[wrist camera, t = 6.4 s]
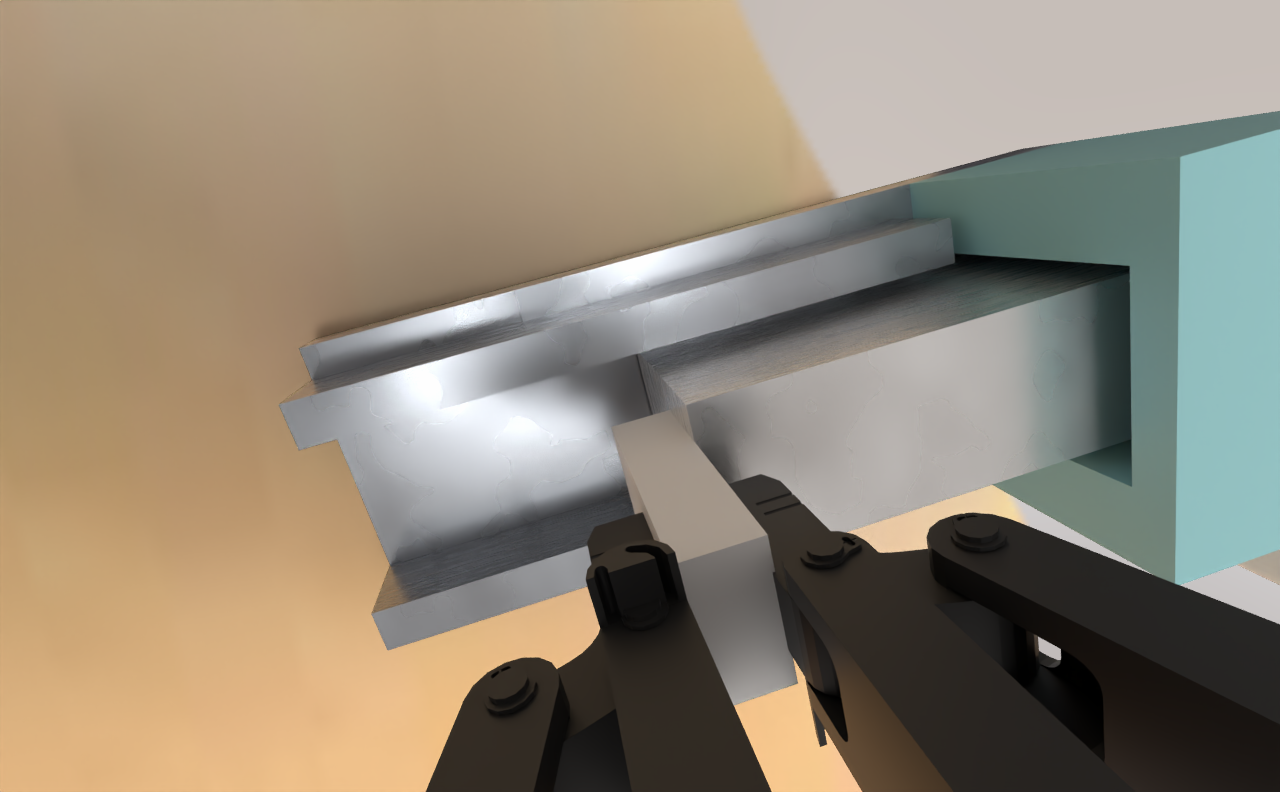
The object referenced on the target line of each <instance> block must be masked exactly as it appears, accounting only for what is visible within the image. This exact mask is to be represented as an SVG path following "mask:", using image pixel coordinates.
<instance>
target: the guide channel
mask: <svg viewBox="0 0 1280 792" xmlns="http://www.w3.org/2000/svg"><path fill="white" fill-rule="evenodd" d="M1052 145H1055V144H1052ZM1048 146H1051V145H1046V146H1039V147H1032V148H1025V149H1020V150H1016V151H1012V152H1009V153H1006V154H1002V155H998V156H994V157H990V158H986V159H983V160H979V161H975V162H972V163H968V164H964V165H960V166H957V167H953V168H949V169H946V170H942V171H939V172H934V173H931V174H927V175H923V176H919V177H916V178H913V179H909V180H905V181H901V182H897V183H894V184H890V185H886V186H882V187H879V188H875V189H871V190H867V191H864V192H860V193H856V194H853V195H849V196H845V197H841V198H838V199H834V200H830V201H827V202H823V203H819V204H815V205H812V206H808V207H804V208H801V209H797V210H793V211H789V212H786V213H782V214H778V215H774V216H771V217H767V218H763V219H760V220H756V221H752V222H748V223H745V224H741V225H737V226H734V227H730V228H726V229H722V230H719V231H715V232H711V233H708V234H704V235H700V236H696V237H693V238H689V239H685V240H682V241H678V242H674V243H670V244H667V245H663V246H659V247H655V248H652V249H648V250H644V251H641V252H637V253H633V254H629V255H626V256H622V257H618V258H615V259H611V260H607V261H603V262H600V263H596V264H592V265H589V266H585V267H581V268H577V269H574V270H570V271H566V272H563V273H559V274H555V275H551V276H548V277H544V278H540V279H536V280H533V281H529V282H525V283H522V284H518V285H514V286H510V287H507V288H503V289H499V290H496V291H492V292H488V293H484V294H481V295H477V296H473V297H470V298H466V299H462V300H458V301H455V302H451V303H447V304H444V305H440V306H436V307H432V308H429V309H425V310H421V311H418V312H414V313H410V314H406V315H403V316H399V317H395V318H391V319H388V320H384V321H380V322H377V323H373V324H369V325H365V326H362V327H358V328H354V329H351V330H347V331H343V332H339V333H336V334H332V335H328V336H325V337H321V338H317V339H315V340H313V341H311V342H309V343H308V344H306V345H304V346H302V347H301V348H299V350H300V352H301V355H302V357H303V360H304V362H305V364H306V367H307V369H308V371H309V374H310V376H311V379H312V380H311V381H310V382H308V383H307V384H306V385H304V386H303V387H301V388H300V389H299V390H297V391H296V392H295V393H293V394H292V395H291V396H289V397H288V398H287V399H285V400H284V401H283V402H281V403H280V404H279V407H280V409H281V411H282V413H283V416H284V418H285V420H286V422H287V425H288V427H289V429H290V431H291V434H292V436H293V438H294V440H295V443H296V445H297V447H298V449H299V450H302V449H305V448H309V447H312V446H316V445H319V444H323V443H326V442H330V441H333V440H338V443H339V445H340V447H341V450H342V452H343V455H344V457H345V459H346V462H347V464H348V466H349V469H350V471H351V473H352V476H353V478H354V481H355V483H356V485H357V488H358V490H359V492H360V495H361V497H362V500H363V502H364V504H365V507H366V509H367V511H368V514H369V516H370V519H371V521H372V523H373V526H374V528H375V530H376V533H377V535H378V538H379V540H380V542H381V545H382V547H383V549H384V552H385V554H386V557H387V559H388V561H389V564H390V567H389V570H388V572H387V575H386V577H385V580H384V583H383V585H382V588H381V590H380V593H379V596H378V598H377V601H376V603H375V606H374V609H373V611H372V616H373V618H374V621H375V623H376V625H377V627H378V630H379V632H380V634H381V637H382V639H383V641H384V643H385V646H386V648H387V650H391V649H394V648H397V647H400V646H403V645H406V644H409V643H413V642H416V641H419V640H422V639H425V638H428V637H431V636H434V635H437V634H441V633H444V632H447V631H450V630H453V629H456V628H459V627H462V626H465V625H469V624H472V623H475V622H478V621H481V620H484V619H487V618H490V617H493V616H497V615H500V614H503V613H506V612H509V611H512V610H515V609H518V608H521V607H525V606H528V605H531V604H534V603H537V602H540V601H543V600H546V599H549V598H553V597H556V596H559V595H562V594H565V593H568V592H571V591H574V590H577V589H581V588H584V587H587V583H586V574H587V569H588V568H589V567H590V565H591V559H590V555H589V550H588V545H587V541H588V539H589V537H590V535H591V533H592V531H593V529H594V527H595V526H599V525H602V524H605V523H608V522H612V521H615V520H618V519H621V518H625V517H628V516H631V515H635V513H634V509H633V505H632V502H631V498H630V494H629V491H628V487H627V483H626V480H625V476H624V472H623V469H622V465H621V461H620V458H619V454H618V450H617V447H616V443H615V439H614V435H613V432H612V428H611V427H613V426H616V425H620V424H623V423H627V422H630V421H634V420H637V419H640V418H644V417H647V416H651V415H652V411H651V407H650V403H649V399H648V395H647V391H646V387H645V383H644V380H643V376H642V372H641V368H640V364H639V360H638V356H637V354H638V353H641V352H645V351H648V350H652V349H655V348H659V347H662V346H666V345H669V344H673V343H676V342H680V341H683V340H687V339H690V338H694V337H697V336H701V335H704V334H708V333H711V332H715V331H718V330H722V329H725V328H729V327H732V326H736V325H739V324H743V323H746V322H750V321H753V320H757V319H760V318H764V317H767V316H771V315H774V314H778V313H781V312H785V311H788V310H792V309H795V308H799V307H802V306H806V305H809V304H813V303H816V302H820V301H823V300H827V299H830V298H834V297H837V296H841V295H844V294H848V293H851V292H855V291H858V290H862V289H865V288H869V287H872V286H876V285H879V284H883V283H886V282H890V281H893V280H897V279H900V278H904V277H907V276H911V275H914V274H918V273H921V272H925V271H928V270H932V269H935V268H939V267H942V266H946V265H949V264H953V263H955V258H956V257H959V256H963V255H966V254H958V253H954V247H953V236H952V226H951V218H913V212H912V203H911V194H910V185H909V184H911V183H914V182H918V181H922V180H925V179H929V178H933V177H936V176H940V175H944V174H948V173H951V172H955V171H959V170H962V169H966V168H970V167H974V166H977V165H981V164H985V163H988V162H992V161H996V160H1000V159H1003V158H1007V157H1011V156H1014V155H1018V154H1022V153H1025V152H1029V151H1033V150H1037V149H1040V148H1044V147H1048Z"/></svg>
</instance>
